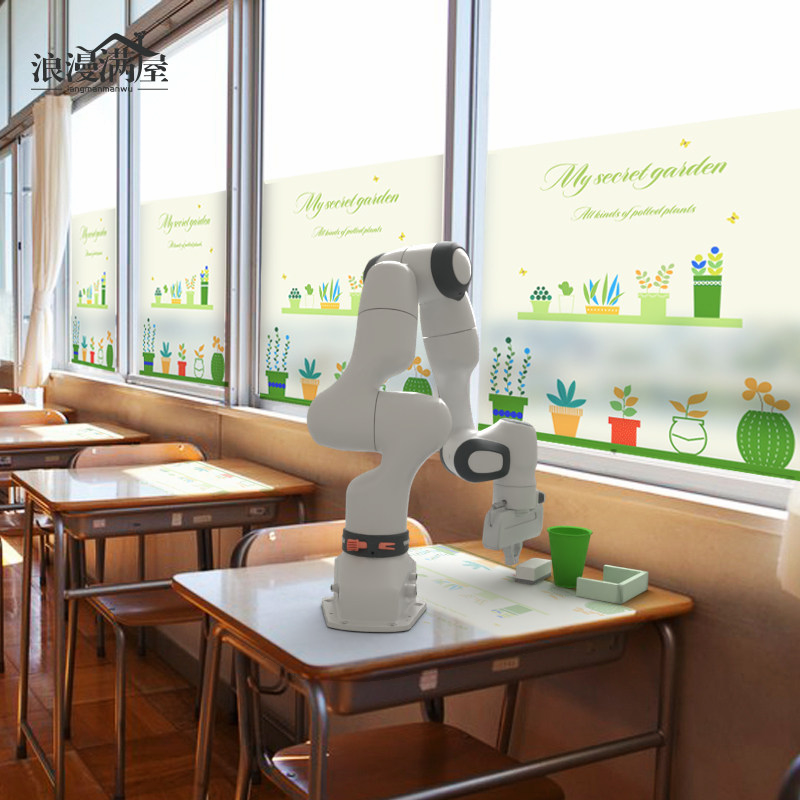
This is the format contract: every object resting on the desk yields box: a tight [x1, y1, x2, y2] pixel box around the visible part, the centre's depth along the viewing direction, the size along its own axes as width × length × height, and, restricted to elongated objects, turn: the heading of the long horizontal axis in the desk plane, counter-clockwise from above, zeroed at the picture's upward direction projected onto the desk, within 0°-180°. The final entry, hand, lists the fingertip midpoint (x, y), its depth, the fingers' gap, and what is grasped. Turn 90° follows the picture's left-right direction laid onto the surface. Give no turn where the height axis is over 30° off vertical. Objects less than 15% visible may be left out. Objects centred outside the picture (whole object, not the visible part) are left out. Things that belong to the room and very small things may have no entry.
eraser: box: [515, 557, 552, 585], centre depth 212 cm, size 9×4×4 cm, turn 150°
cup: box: [546, 525, 593, 589], centre depth 208 cm, size 9×9×11 cm
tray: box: [575, 564, 649, 605], centre depth 203 cm, size 14×9×4 cm, turn 146°
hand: (511, 564), depth 215 cm, fingers closed
